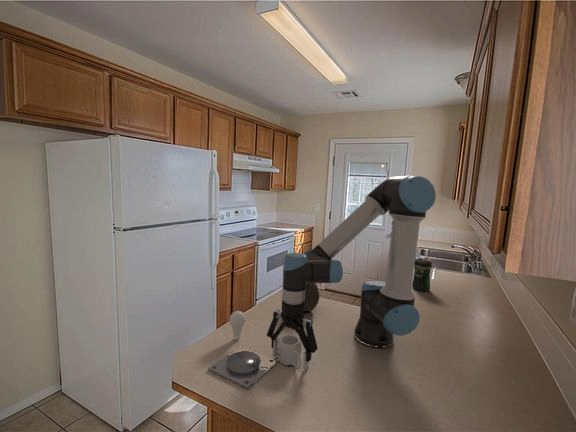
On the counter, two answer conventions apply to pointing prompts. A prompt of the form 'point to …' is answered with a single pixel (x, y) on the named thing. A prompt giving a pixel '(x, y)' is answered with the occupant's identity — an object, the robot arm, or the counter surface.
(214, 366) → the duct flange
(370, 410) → the counter surface
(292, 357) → the mug
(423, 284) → the coffee jar
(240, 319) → the lightbulb
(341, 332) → the counter surface
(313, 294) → the coconut
